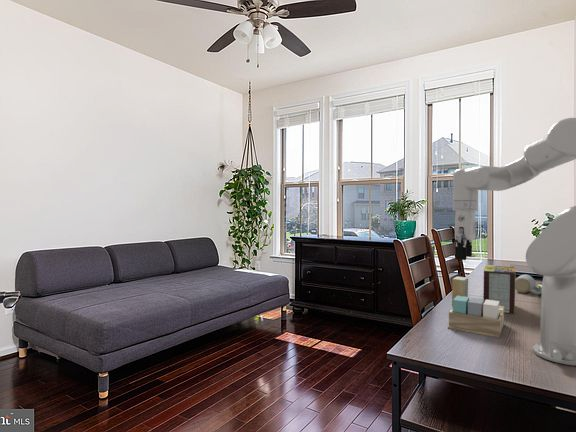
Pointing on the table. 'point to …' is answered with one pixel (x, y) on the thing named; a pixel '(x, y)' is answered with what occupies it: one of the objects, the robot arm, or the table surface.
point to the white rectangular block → (491, 309)
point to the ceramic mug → (526, 285)
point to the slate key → (475, 307)
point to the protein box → (500, 286)
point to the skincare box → (459, 287)
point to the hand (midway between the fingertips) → (463, 257)
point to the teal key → (460, 304)
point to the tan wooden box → (477, 323)
